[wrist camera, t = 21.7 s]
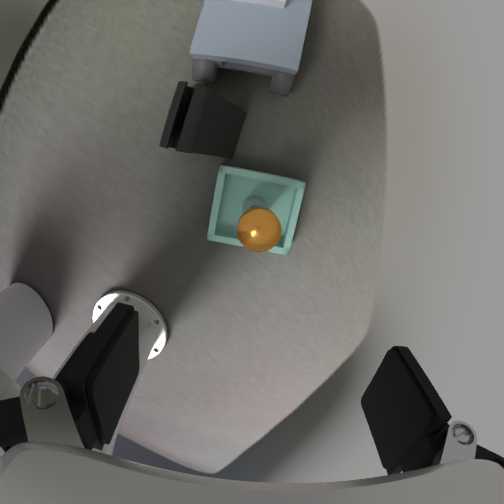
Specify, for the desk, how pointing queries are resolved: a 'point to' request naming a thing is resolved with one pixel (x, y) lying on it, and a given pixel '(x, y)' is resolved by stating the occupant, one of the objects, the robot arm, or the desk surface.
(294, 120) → the desk surface
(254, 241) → the pin
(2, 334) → the cylinder vase
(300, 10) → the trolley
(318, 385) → the desk surface
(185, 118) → the phone stand
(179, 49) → the desk surface
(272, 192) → the tray
